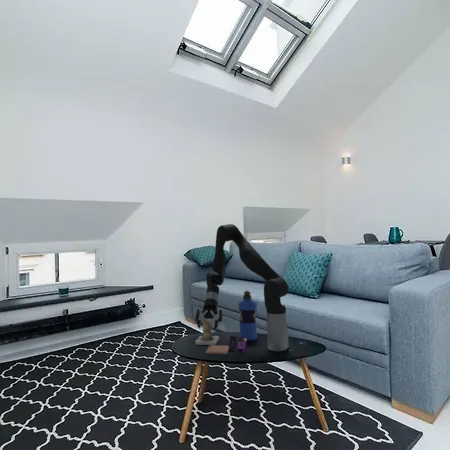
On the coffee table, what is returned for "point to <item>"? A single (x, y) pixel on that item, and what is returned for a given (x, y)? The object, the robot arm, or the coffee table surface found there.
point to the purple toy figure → (240, 345)
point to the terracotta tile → (217, 349)
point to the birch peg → (207, 330)
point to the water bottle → (247, 317)
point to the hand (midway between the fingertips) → (207, 328)
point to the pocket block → (213, 342)
